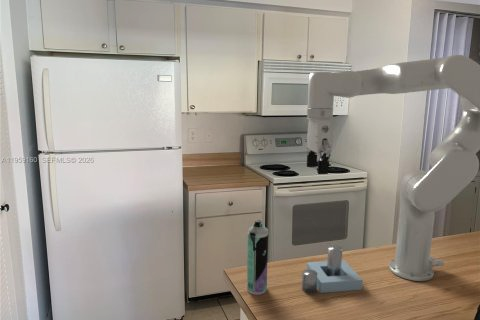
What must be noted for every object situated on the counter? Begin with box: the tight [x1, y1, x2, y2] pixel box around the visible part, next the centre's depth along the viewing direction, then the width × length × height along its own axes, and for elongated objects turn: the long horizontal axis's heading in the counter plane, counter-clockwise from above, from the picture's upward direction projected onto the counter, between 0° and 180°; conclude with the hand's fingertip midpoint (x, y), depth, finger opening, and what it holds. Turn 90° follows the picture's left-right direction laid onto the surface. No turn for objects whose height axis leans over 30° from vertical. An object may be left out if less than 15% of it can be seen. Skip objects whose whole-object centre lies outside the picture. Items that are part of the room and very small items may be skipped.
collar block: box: [305, 259, 363, 294], centre depth 107 cm, size 12×12×3 cm
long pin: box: [326, 244, 344, 277], centre depth 106 cm, size 4×4×10 cm
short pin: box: [301, 268, 318, 295], centre depth 102 cm, size 4×4×5 cm
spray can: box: [246, 220, 269, 296], centre depth 100 cm, size 6×6×20 cm
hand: (317, 170), depth 113 cm, fingers open, 9 cm apart
